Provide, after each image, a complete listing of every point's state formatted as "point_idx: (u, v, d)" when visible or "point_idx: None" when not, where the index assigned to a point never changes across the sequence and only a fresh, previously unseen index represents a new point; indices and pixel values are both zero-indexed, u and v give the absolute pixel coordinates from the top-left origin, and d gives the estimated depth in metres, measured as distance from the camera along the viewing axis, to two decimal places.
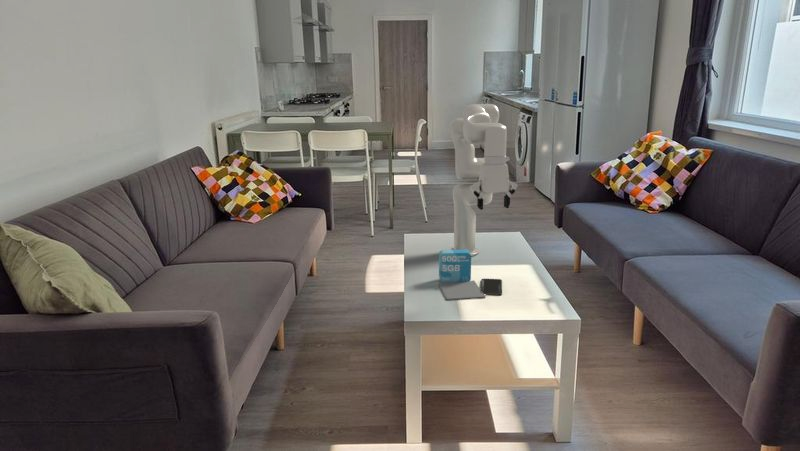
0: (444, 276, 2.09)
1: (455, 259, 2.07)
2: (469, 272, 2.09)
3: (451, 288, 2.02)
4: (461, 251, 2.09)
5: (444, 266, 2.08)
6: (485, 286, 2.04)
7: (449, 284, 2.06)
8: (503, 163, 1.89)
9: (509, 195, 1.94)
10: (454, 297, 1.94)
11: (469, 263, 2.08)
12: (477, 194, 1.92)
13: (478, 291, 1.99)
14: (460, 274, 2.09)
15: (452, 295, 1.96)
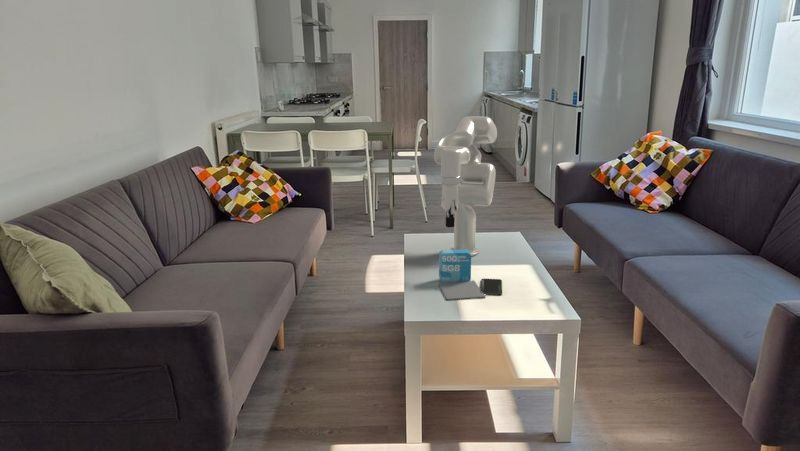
0: (444, 276, 2.09)
1: (455, 259, 2.07)
2: (469, 272, 2.09)
3: (451, 288, 2.02)
4: (461, 251, 2.09)
5: (444, 266, 2.08)
6: (485, 286, 2.04)
7: (449, 284, 2.06)
8: None
9: None
10: (454, 297, 1.94)
11: (469, 263, 2.08)
12: None
13: (478, 291, 1.99)
14: (460, 274, 2.09)
15: (452, 295, 1.96)
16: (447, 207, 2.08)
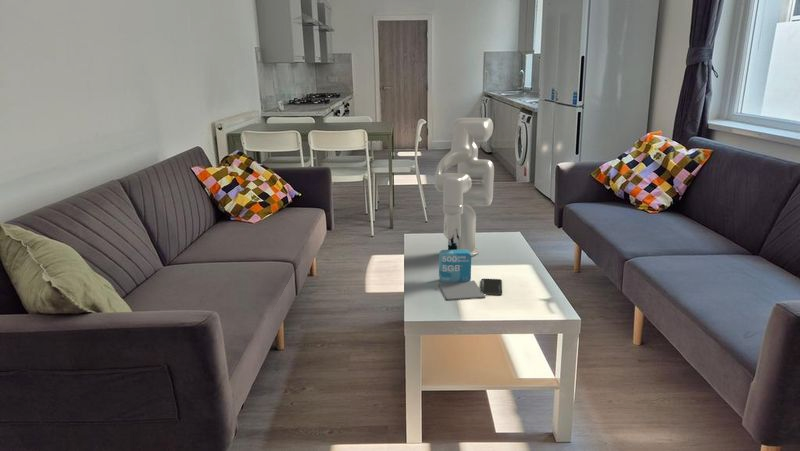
0: (444, 276, 2.09)
1: (455, 259, 2.07)
2: (469, 272, 2.09)
3: (451, 288, 2.02)
4: (461, 251, 2.09)
5: (444, 266, 2.08)
6: (485, 286, 2.04)
7: (449, 284, 2.06)
8: None
9: None
10: (454, 297, 1.94)
11: (469, 263, 2.08)
12: None
13: (478, 291, 1.99)
14: (461, 274, 2.09)
15: (452, 295, 1.96)
16: (449, 236, 2.06)
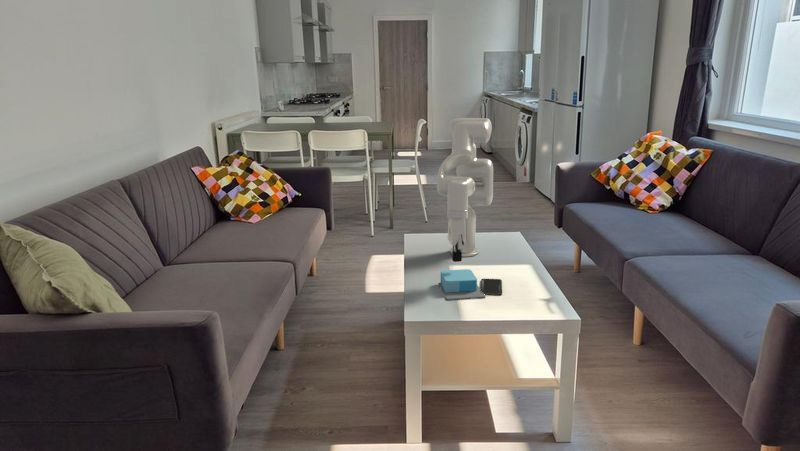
0: None
1: None
2: None
3: None
4: (468, 286, 1.98)
5: None
6: (485, 286, 2.04)
7: None
8: None
9: None
10: (454, 297, 1.94)
11: None
12: None
13: (478, 291, 1.99)
14: None
15: (452, 295, 1.96)
16: (454, 242, 1.99)
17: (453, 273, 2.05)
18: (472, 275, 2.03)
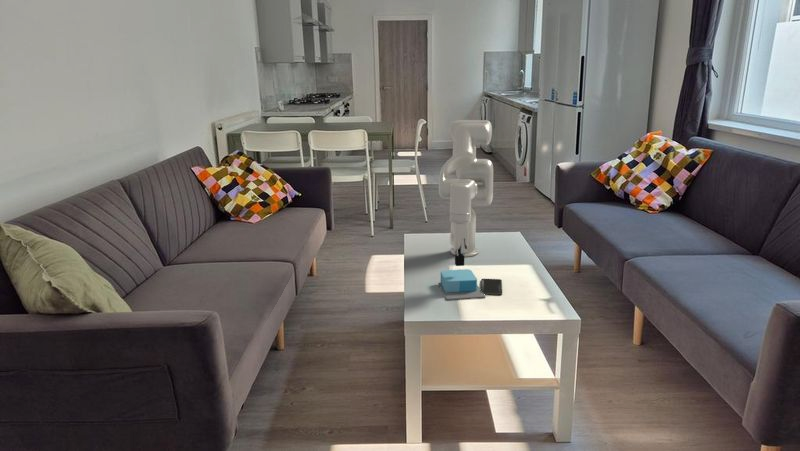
0: None
1: None
2: None
3: None
4: (468, 286, 1.98)
5: None
6: (485, 286, 2.04)
7: None
8: None
9: None
10: (454, 297, 1.94)
11: None
12: None
13: (478, 291, 1.99)
14: None
15: (452, 295, 1.96)
16: (457, 246, 1.95)
17: (453, 273, 2.05)
18: (472, 275, 2.03)
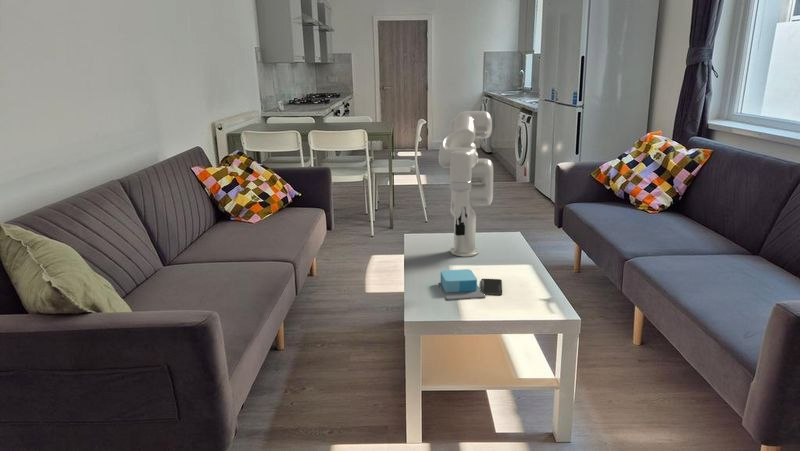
0: None
1: None
2: None
3: None
4: (468, 286, 1.98)
5: None
6: (485, 286, 2.04)
7: None
8: None
9: None
10: (454, 297, 1.94)
11: None
12: None
13: (478, 291, 1.99)
14: None
15: (452, 295, 1.96)
16: (457, 214, 1.92)
17: (453, 273, 2.05)
18: (472, 275, 2.03)
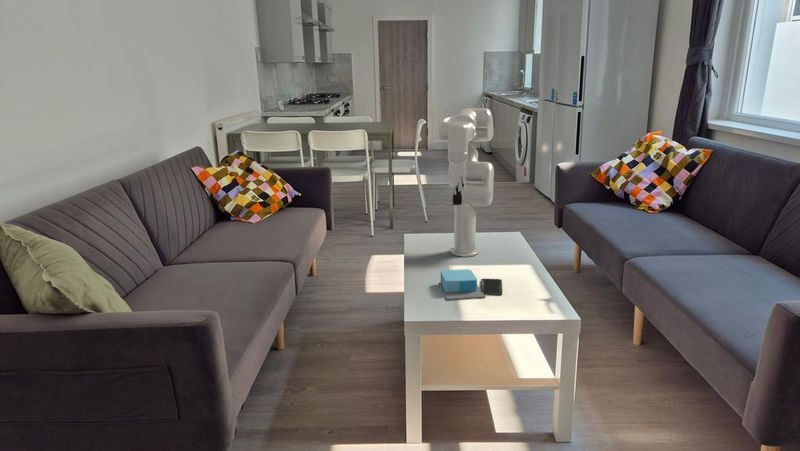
0: None
1: None
2: None
3: None
4: (468, 286, 1.98)
5: None
6: (485, 286, 2.04)
7: None
8: None
9: None
10: (454, 297, 1.94)
11: None
12: None
13: (478, 291, 1.99)
14: None
15: (452, 295, 1.96)
16: (454, 184, 2.03)
17: (453, 273, 2.05)
18: (472, 275, 2.03)
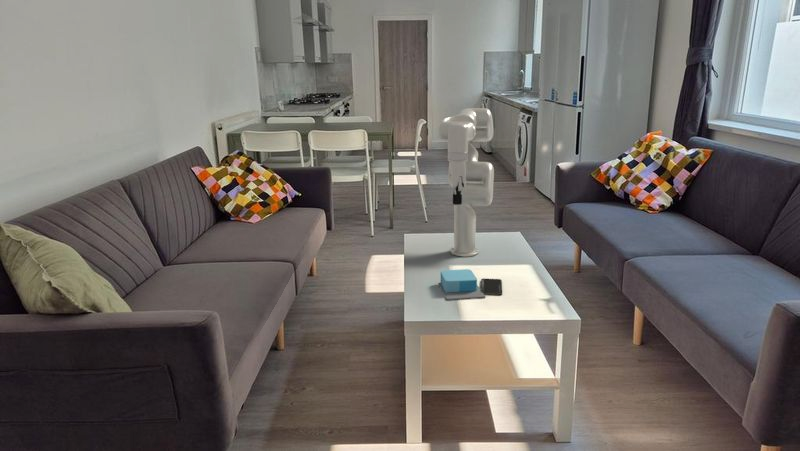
0: None
1: None
2: None
3: None
4: (468, 286, 1.98)
5: None
6: (485, 286, 2.04)
7: None
8: None
9: None
10: (454, 297, 1.94)
11: None
12: None
13: (478, 291, 1.99)
14: None
15: (452, 295, 1.96)
16: (454, 183, 2.03)
17: (453, 273, 2.05)
18: (472, 275, 2.03)
